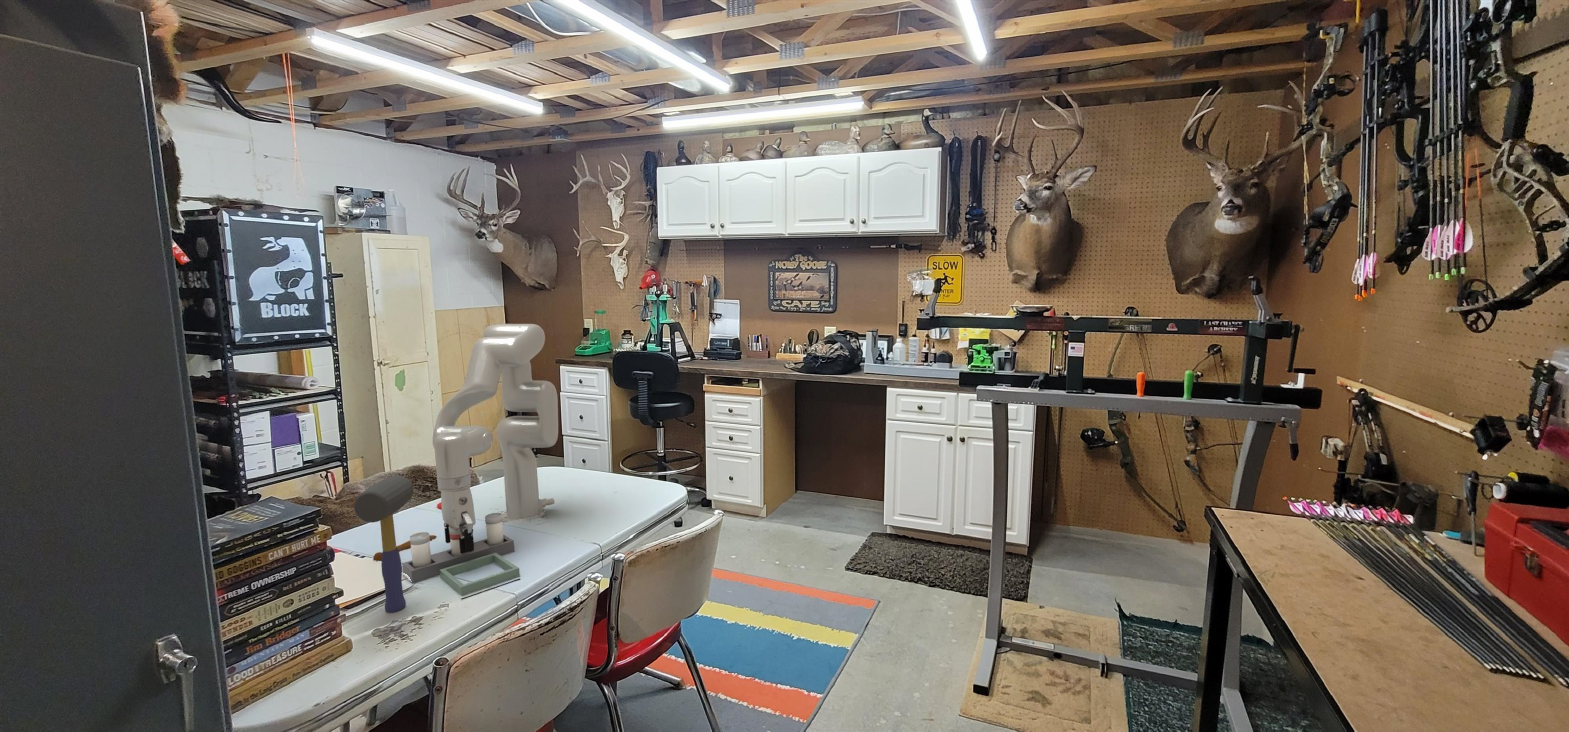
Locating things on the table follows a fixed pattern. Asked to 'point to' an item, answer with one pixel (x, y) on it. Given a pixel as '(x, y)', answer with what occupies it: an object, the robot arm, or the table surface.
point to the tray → (485, 582)
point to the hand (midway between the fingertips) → (459, 546)
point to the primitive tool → (399, 548)
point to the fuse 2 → (494, 528)
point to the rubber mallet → (387, 530)
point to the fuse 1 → (420, 549)
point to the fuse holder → (455, 559)
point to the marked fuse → (455, 541)
